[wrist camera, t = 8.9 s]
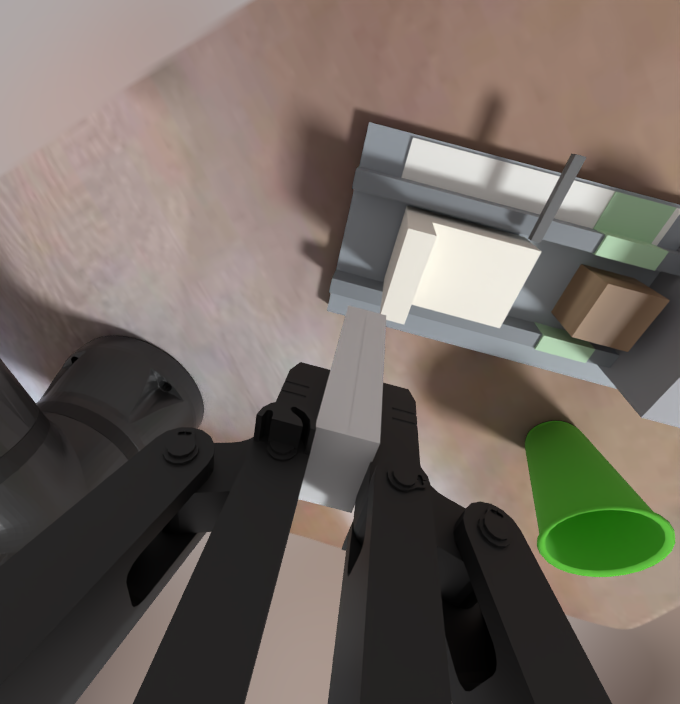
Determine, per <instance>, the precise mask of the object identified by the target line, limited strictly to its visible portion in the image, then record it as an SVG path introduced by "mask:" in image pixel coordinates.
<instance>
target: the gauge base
mask: <svg viewBox="0 0 680 704" xmlns="http://www.w3.org/2000/svg"><path fill="white" fill-rule="evenodd" d="M560 175H561V173H559V172H555V171H551V170H547V169H544V168H540V167H536V166H532V165H529V164H525V163H521V162H517V161H514V160H510V159H506V158H502V157H499V156H495V155H491V154H487V153H484V152H480V151H476V150H472V149H469V148H465V147H461V146H457V145H454V144H450V143H446V142H442V141H439V140H435V139H431V138H427V137H424V136H420V135H416V134H412V133H409V132H405V131H401V130H397V129H393V128H390V127H386V126H382V125H378V124H375V123H371V122H369V125H368V130H367V134H366V139H365V143H364V148H363V152H362V157H361V161H360V165H359V167H358V168H356V172H355V177H354V181H353V186H352V189H354V192H353V197H352V201H351V206H350V210H349V215H348V219H347V224H346V228H345V232H344V237H343V241H342V246H341V250H340V255H339V259H338V264H337V268H336V271H335V273H334V275H333V277H332V281H331V285H330V290H329V293H331V295H330V299H329V304H328V308H327V311H330V312H334V313H337V314H341V315H345V316H346V312H347V308H348V305H349V306H353V307H356V308H360V309H364V310H368V311H372V312H375V313H379V314H380V310H381V301H382V293H383V284H384V278H385V274H386V271H387V268H388V265H389V261H390V258H391V255H392V252H393V248H394V245H395V242H396V239H397V235H398V232H399V229H400V226H401V222H402V219H403V216H404V213H405V209H406V206H410V207H414V208H418V209H422V210H425V211H429V212H433V213H437V214H440V215H444V216H448V217H451V218H455V219H459V220H463V221H466V222H470V223H474V224H478V225H481V226H485V227H489V228H493V229H496V230H500V231H504V232H508V233H511V234H515V235H519V236H523V237H525V238H526V239H528V237H529V236H530V234H531V232H532V230H533V228H534V226H535V224H536V222H537V220H538V218H539V216H540V214H541V212H542V210H543V208H544V206H545V204H546V202H547V200H548V199H549V197H550V195H551V193H552V191H553V189H554V187H555V185H556V183H557V181H558V179H559V177H560ZM528 240H529V241H530V242H531V243H532V244H533V245H535V246H536V247H537V248H538V249H539V250H540V251H542V252H541V254H540V256H539V258H538V259H537V261H536V263H535V265H534V267H533V269H532V270H531V272H530V274H529V276H528V278H527V280H526V281H525V283H524V285H523V287H522V289H521V291H520V292H519V294H518V296H517V298H516V300H515V301H514V303H513V305H512V307H511V309H510V311H509V312H508V314H507V316H506V318H505V320H504V322H503V323H502V325H501V327H500V328H497V327H493V326H489V325H486V324H482V323H478V322H474V321H471V320H467V319H463V318H460V317H456V316H452V315H448V314H445V313H441V312H437V311H434V310H430V309H426V308H422V307H419V306H415V305H411V308H410V310H409V313H408V316H407V319H406V321H405V324H400V323H396V322H393V321H389V320H386V327H389V328H393V329H397V330H400V331H404V332H408V333H411V334H415V335H419V336H423V337H426V338H430V339H434V340H437V341H441V342H445V343H449V344H452V345H456V346H460V347H463V348H467V349H471V350H475V351H478V352H482V353H486V354H489V355H493V356H497V357H501V358H504V359H508V360H512V361H515V362H519V363H523V364H526V365H530V366H534V367H538V368H541V369H545V370H549V371H552V372H556V373H560V374H564V375H567V376H571V377H575V378H578V379H582V380H586V381H590V382H593V383H597V384H601V385H604V386H608V387H612V388H616V389H618V390H619V392H620V393H621V394H622V395H623V396H624V398H625V399H626V400H627V401H628V402H629V403H630V405H631V406H632V407H633V408H634V409H635V411H636V412H637V413H638V414H639V415H640V417H641V418H645V419H649V420H652V421H656V422H660V423H664V424H667V425H671V426H675V427H678V428H680V205H679V204H675V203H671V202H668V201H664V200H660V199H656V198H653V197H649V196H645V195H641V194H638V193H634V192H630V191H626V190H623V189H619V188H615V187H611V186H608V185H604V184H600V183H596V182H593V181H589V180H585V179H581V178H578V177H576V178H575V180H574V182H573V183H572V185H571V187H570V189H569V191H568V193H567V195H566V196H565V198H564V200H563V202H562V204H561V206H560V208H559V209H558V211H557V213H556V215H555V217H554V219H553V221H552V223H551V224H550V226H549V228H548V230H547V232H546V234H545V236H544V237H543V239H542V241H541V243H538V242H534V241H531V240H530V239H528ZM581 264H583V265H587V266H591V267H595V268H598V269H602V270H606V271H610V272H613V273H617V274H621V275H625V276H628V277H632V278H635V279H637V280H638V281H640V282H642V283H643V284H645V285H646V286H648V287H649V288H651V289H653V290H654V291H656V292H657V293H659V294H661V295H662V296H664V297H665V298H667V299H669V300H670V301H669V302H668V304H667V305H666V306H665V307H664V308H663V310H662V311H661V312H660V313H659V315H658V316H657V317H656V318H655V319H654V321H653V322H652V323H651V324H650V326H649V327H648V328H647V329H646V331H645V332H644V333H643V334H642V335H641V337H640V338H639V339H638V340H637V342H636V343H635V344H634V345H633V346H632V348H631V349H630V350H629V351H628V352H626V351H622V350H618V349H615V348H611V347H607V346H603V345H600V344H596V343H592V342H588V341H585V340H581V339H577V338H574V337H571V336H570V334H569V333H568V332H567V331H566V330H565V328H564V327H563V326H562V325H561V323H560V322H559V321H558V320H557V319H556V317H555V316H554V315H553V314H552V313H551V311H552V310H553V308H554V306H555V305H556V303H557V302H558V300H559V298H560V297H561V295H562V294H563V292H564V290H565V289H566V287H567V286H568V284H569V282H570V281H571V279H572V278H573V276H574V274H575V273H576V271H577V269H578V268H579V266H580V265H581Z"/></svg>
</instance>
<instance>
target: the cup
mask: <svg viewBox="0 0 680 704" xmlns="http://www.w3.org/2000/svg"><path fill="white" fill-rule="evenodd" d="M525 450H526V456H527V462H528V468H529V474H530V480H531V486H532V492H533V498H534V504H535V510H536V516H537V522H538V528H539V536H538V538H537V547H538V550H539V553H540V554H541V555H542V556H543V557H544V558H545V560H546V561H547V562H548V563H550V564H551V565H553V566H554V567H556V568H558V569H560V570H563V571H566V572H568V573H572V574H577V575H581V576H592V577H611V576H619V575H626V574H630V573H634V572H638V571H641V570H644V569H646V568H649V567H651V566H654V565H655V564H657V563H658V562H660V561H661V560H663V559H664V558H665V557H666V556H667V555H668V554H669V553H670V552H671V551H672V549H673V547H674V544H675V533H674V529H673V527H672V526H671V524H670V523H669V521H667V520H666V519H665V518H663V517H662V516H661V515H659V514H657V513H654V512H653V511H652V510H651V509H650V508H649V506H648V505H647V504H646V503H645V502H644V501H643V500H642V499H641V498H640V496H639V495H638V494H637V493H636V492H635V491H634V490H633V489H632V488H631V486H630V485H629V484H628V483H627V482H626V481H625V480H624V479H623V478H622V476H621V475H620V474H619V473H618V472H617V471H616V470H615V469H614V468H613V467H612V465H611V464H610V463H609V462H608V461H607V460H606V459H605V458H604V457H603V455H602V454H601V453H600V452H599V451H598V450H597V449H596V448H595V447H594V445H593V444H592V443H591V442H590V441H589V440H588V439H587V438H586V437H585V435H584V434H583V433H582V432H581V431H580V430H579V429H578V428H576V427H575V426H573V425H571V424H569V423H567V422H562V421H549V422H545V423H541V424H539V425H537V426H535V427H534V428H533V429H531V430H530V432H529V433H528V434H527V437H526V440H525Z"/></svg>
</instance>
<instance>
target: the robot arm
mask: <svg viewBox="0 0 680 704" xmlns="http://www.w3.org/2000/svg"><path fill="white" fill-rule="evenodd" d="M385 334H386V315H383V314H379V313H375V312H372V311H368V310H364V309H360V308H356V307H353V306H349V305H348V308H347V312H346V316H345V319H344V323H343V327H342V330H341V334H340V338H339V341H338V345H337V349H336V352H335V356H334V359H333V363H332V367H331V370H328V369H324V368H321V367H317V366H313V365H309V364H305V363H302V362H300V363H299V364H297V365H296V366H295V367H293V368H292V369H291V370H290V371H289V373H288V376H287V378H286V380H285V383H284V385H283V387H282V389H281V392H280V394H279V396H278V398H277V400H276V402H274V403H270V404H268V405H266V406H264V407H263V408H262V409H261V410H260V411H259V412H258V414H257V416H256V424H255V432H254V437H253V438H251V439H248V440H245V441H242V442H234V443H213V441H212V438H211V437H210V436H209V435H208V434H207V433H205V432H204V431H203V430H199V429H197V428H198V427H199V426H200V424H201V422H202V419H203V414H204V405H203V400H202V396H201V394H200V391H199V389H198V387H197V385H196V383H195V382H194V380H193V379H192V378H191V376H190V375H189V374H188V372H187V371H186V370H185V369H184V368H183V367H182V366H181V365H180V364H179V363H178V362H177V361H175V360H174V359H173V358H172V357H170V356H169V355H168V354H166V353H165V352H163V351H161V350H160V349H158V348H156V347H154V346H152V345H150V344H148V343H146V342H143V341H140V340H137V339H134V338H129V337H124V336H104V337H100V338H97V339H94V340H92V341H90V342H89V343H87V344H86V345H84V346H83V347H81V348H80V349H78V350H77V351H76V352H74V353H73V354H72V355H71V356H70V357H69V358H68V359H67V361H66V362H65V364H64V365H63V367H62V369H61V370H60V371H59V373H58V374H57V375H56V377H55V378H54V380H53V381H52V383H51V384H50V386H49V387H48V389H47V390H46V392H45V393H44V395H43V396H42V398H41V399H40V400H39V401H38V402H37V403H35V402H34V401H33V399H32V398H31V397H30V396H29V394H28V393H27V392H26V390H25V389H24V388H23V387H22V385H21V384H20V383H19V382H18V380H17V379H16V378H15V376H14V375H13V374H12V373H11V371H10V370H9V369H8V368H7V366H6V365H5V364H4V363H3V361H2V360H1V359H0V704H75V703H76V701H77V700H78V699H79V697H80V696H81V695H82V694H83V692H84V691H85V690H86V688H87V687H88V686H89V684H90V683H91V682H92V680H93V679H94V678H95V677H96V675H97V674H98V673H99V671H100V670H101V669H102V668H103V666H104V665H105V664H106V662H107V661H108V660H109V658H110V657H111V656H112V655H113V653H114V652H115V651H116V649H117V648H118V647H119V645H120V644H121V643H122V641H123V640H124V639H125V638H126V636H127V635H128V634H129V632H130V631H131V630H132V628H133V627H134V626H135V624H136V623H137V622H138V621H139V619H140V618H141V617H142V615H143V614H144V613H145V611H146V610H147V609H148V608H149V606H150V605H151V604H152V602H153V601H154V600H155V598H156V597H157V596H158V595H159V593H160V592H161V591H162V589H163V588H164V587H165V586H166V584H167V583H168V582H169V580H170V579H171V578H172V576H173V575H174V574H175V572H176V571H177V570H178V569H179V567H180V566H181V565H182V563H183V562H184V561H185V559H186V558H187V557H188V556H189V554H190V553H191V552H192V550H193V549H194V548H195V546H196V545H197V544H198V543H199V541H200V540H201V539H202V537H203V536H204V535H205V533H206V532H211V534H210V536H209V539H208V541H207V543H206V545H205V547H204V550H203V552H202V554H201V556H200V558H199V561H198V563H197V565H196V567H195V569H194V572H193V574H192V576H191V578H190V580H189V583H188V585H187V587H186V589H185V591H184V593H183V595H182V598H181V600H180V602H179V605H178V606H177V609H176V611H175V613H174V615H173V618H172V619H171V622H170V624H169V626H168V628H167V630H166V633H165V635H164V637H163V639H162V641H161V643H160V646H159V648H158V650H157V652H156V654H155V657H154V659H153V661H152V663H151V665H150V668H149V670H148V672H147V674H146V677H145V679H144V681H143V683H142V685H141V687H140V689H139V692H138V694H137V696H136V698H135V700H134V702H133V704H245V700H246V696H247V692H248V688H249V685H250V681H251V677H252V673H253V669H254V666H255V661H256V658H257V654H258V650H259V646H260V643H261V639H262V635H263V631H264V628H265V624H266V620H267V616H268V612H269V608H270V604H271V601H272V597H273V593H274V589H275V586H276V582H277V578H278V574H279V570H280V567H281V563H282V559H283V555H284V551H285V548H286V544H287V540H288V536H289V532H290V528H291V525H292V521H293V517H294V513H295V509H296V506H297V502H298V499H300V500H304V501H308V502H312V503H316V504H320V505H323V506H327V507H331V508H335V509H339V510H343V511H346V512H350V513H352V510H353V508H354V505H355V511H354V520H353V522H352V525H351V527H350V529H349V532H348V534H347V536H346V539H345V541H344V544H343V547H342V550H346V557H345V566H344V573H343V582H342V591H341V598H340V607H339V615H338V623H337V632H336V640H335V649H334V656H333V664H332V673H331V681H330V689H329V698H328V704H612V703H611V701H610V699H609V697H608V695H607V693H606V692H605V690H604V688H603V686H602V684H601V682H600V680H599V678H598V676H597V674H596V673H595V671H594V669H593V667H592V665H591V663H590V661H589V659H588V658H587V655H586V653H585V652H584V650H583V648H582V646H581V644H580V642H579V640H578V639H577V636H576V634H575V633H574V631H573V629H572V627H571V625H570V623H569V621H568V619H567V618H566V615H565V614H564V612H563V610H562V608H561V606H560V604H559V602H558V600H557V598H556V596H555V595H554V593H553V591H552V589H551V587H550V585H549V583H548V581H547V579H546V577H545V576H544V574H543V572H542V570H541V568H540V566H539V564H538V562H537V560H536V558H535V557H534V555H533V553H532V551H531V549H530V547H529V545H528V543H527V541H526V540H525V538H524V536H523V534H522V532H521V530H520V529H519V527H518V526H517V525H516V523H515V522H514V520H513V519H512V518H511V517H510V516H509V515H507V514H506V513H505V512H504V511H503V510H501V509H499V508H498V507H496V506H494V505H492V504H489V503H484V502H476V503H471V504H470V505H469V506H468V507H467V508H466V509H465V508H464V507H462V506H460V505H458V504H457V503H455V502H453V501H451V500H449V499H448V498H446V497H444V496H443V495H441V494H440V493H438V492H437V491H436V490H435V489H434V488H433V487H432V486H431V485H430V482H429V479H428V476H427V475H426V474H425V472H424V471H423V470H422V468H421V466H420V456H419V443H418V429H417V416H416V402H415V400H414V398H413V397H412V395H411V393H410V391H409V390H408V389H405V388H401V387H397V386H393V385H390V384H386V383H383V374H384V354H385Z"/></svg>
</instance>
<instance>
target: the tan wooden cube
mask: <svg viewBox="0 0 680 704" xmlns="http://www.w3.org/2000/svg"><path fill="white" fill-rule="evenodd" d="M669 301H670V300H669V299H667V298H665V297H664V296H662V295H661V294H659V293H657V292H656V291H654V290H653V289H651V288H649V287H648V286H646V285H645V284H643V283H642V282H640V281H638V280H637V279H635V278H632V277H628V276H625V275H621V274H617V273H613V272H610V271H606V270H602V269H598V268H595V267H591V266H587V265H583V264H581V265H580V266H579V268H578V269H577V271H576V273H575V274H574V276H573V278H572V279H571V281H570V282H569V284H568V286H567V287H566V289H565V290H564V292H563V294H562V295H561V297H560V298H559V300H558V302H557V303H556V305H555V306H554V308H553V310H552V311H551V313H552V314H553V315H554V316H555V317H556V319H557V320H558V321H559V322H560V323H561V325H562V326H563V327H564V328H565V330H566V331H567V332H568V333H569V334H570V336H571V337H574V338H577V339H581V340H585V341H588V342H592V343H596V344H600V345H603V346H607V347H611V348H615V349H618V350H622V351H626V352H628V351H629V350H630V349H631V348H632V346H633V345H634V344H635V343H636V342H637V340H638V339H639V338H640V337H641V335H642V334H643V333H644V332H645V331H646V329H647V328H648V327H649V326H650V324H651V323H652V322H653V321H654V319H655V318H656V317H657V316H658V315H659V313H660V312H661V311H662V310H663V308H664V307H665V306H666V305H667V304H668V302H669Z"/></svg>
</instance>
